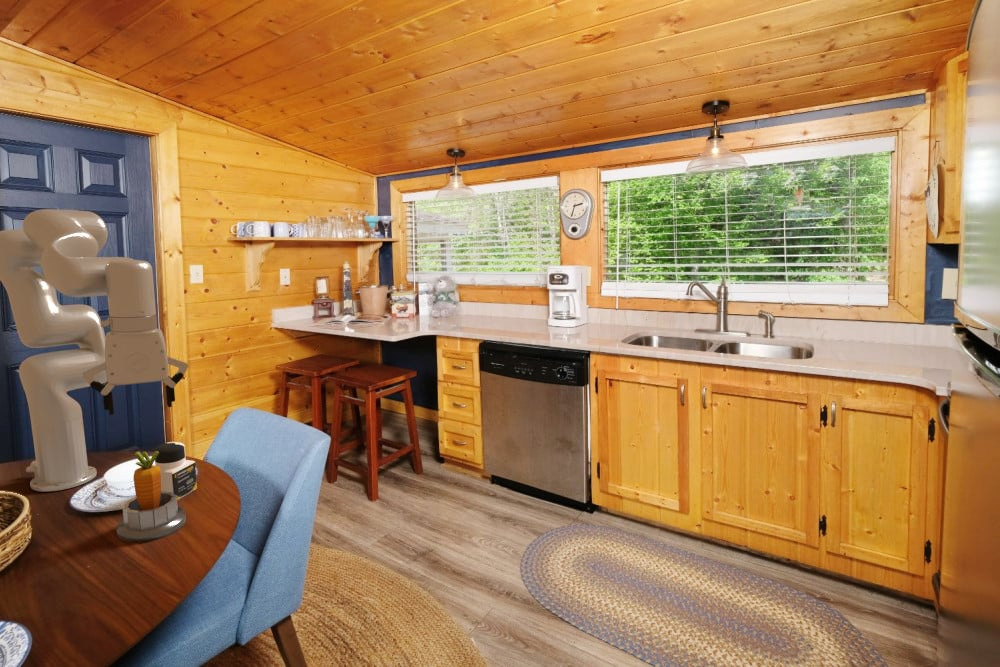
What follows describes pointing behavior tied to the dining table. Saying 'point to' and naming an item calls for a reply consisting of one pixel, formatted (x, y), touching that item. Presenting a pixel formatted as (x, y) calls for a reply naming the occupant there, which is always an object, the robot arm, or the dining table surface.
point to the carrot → (147, 481)
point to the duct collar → (151, 520)
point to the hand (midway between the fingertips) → (141, 409)
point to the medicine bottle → (175, 469)
